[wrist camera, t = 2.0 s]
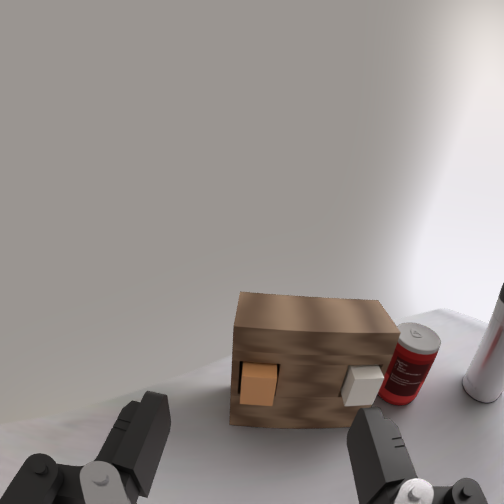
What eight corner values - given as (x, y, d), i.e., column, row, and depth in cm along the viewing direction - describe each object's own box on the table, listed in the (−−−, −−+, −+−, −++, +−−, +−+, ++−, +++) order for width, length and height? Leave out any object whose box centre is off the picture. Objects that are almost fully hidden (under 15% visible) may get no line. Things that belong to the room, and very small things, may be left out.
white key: (362, 378, 34) (372, 352, 32) (372, 404, 29) (384, 377, 27) (337, 379, 34) (345, 352, 32) (344, 406, 29) (354, 379, 28)
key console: (349, 389, 40) (378, 300, 36) (361, 426, 33) (400, 332, 28) (234, 385, 41) (240, 291, 36) (229, 424, 33) (233, 326, 28)
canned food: (400, 372, 44) (421, 319, 40) (424, 399, 36) (451, 345, 33) (366, 380, 42) (385, 324, 39) (388, 411, 35) (415, 355, 32)
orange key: (272, 377, 34) (276, 350, 33) (272, 406, 29) (277, 378, 28) (242, 375, 34) (244, 347, 33) (239, 403, 29) (241, 376, 28)
